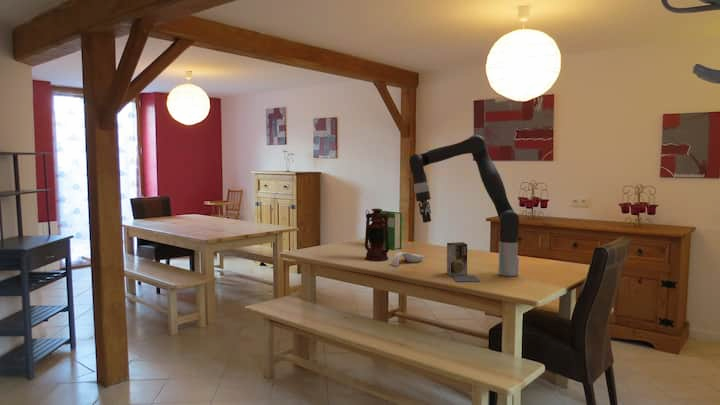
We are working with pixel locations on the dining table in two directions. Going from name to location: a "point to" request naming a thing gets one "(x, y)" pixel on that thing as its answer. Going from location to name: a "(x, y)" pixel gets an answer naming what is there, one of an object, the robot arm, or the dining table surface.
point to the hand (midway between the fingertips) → (427, 222)
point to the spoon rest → (407, 256)
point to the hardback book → (394, 230)
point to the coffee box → (457, 258)
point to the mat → (465, 278)
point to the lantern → (377, 236)
